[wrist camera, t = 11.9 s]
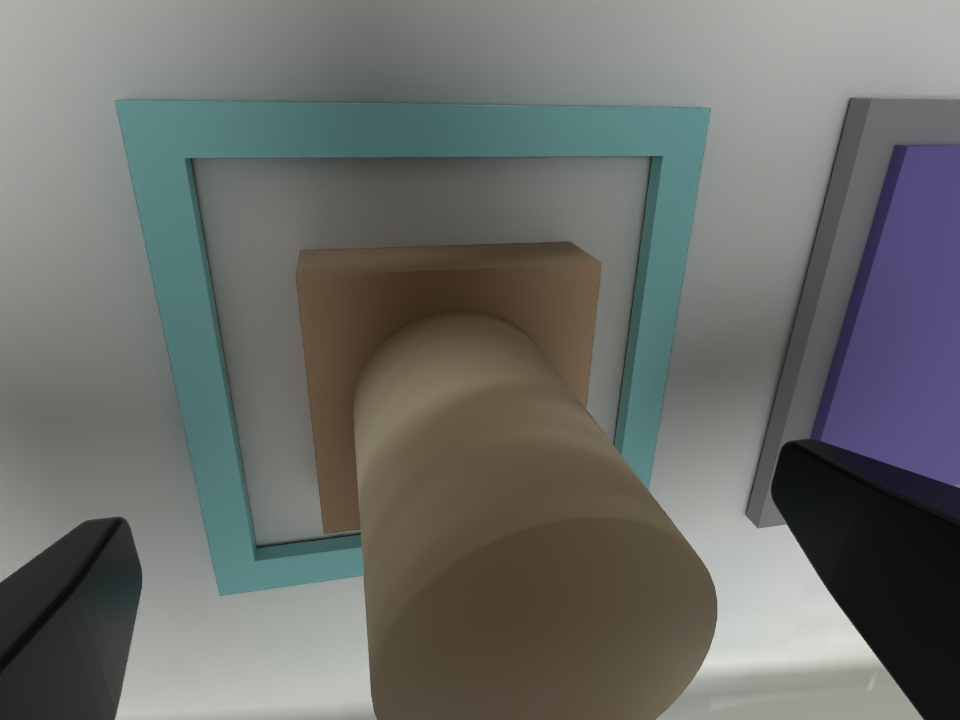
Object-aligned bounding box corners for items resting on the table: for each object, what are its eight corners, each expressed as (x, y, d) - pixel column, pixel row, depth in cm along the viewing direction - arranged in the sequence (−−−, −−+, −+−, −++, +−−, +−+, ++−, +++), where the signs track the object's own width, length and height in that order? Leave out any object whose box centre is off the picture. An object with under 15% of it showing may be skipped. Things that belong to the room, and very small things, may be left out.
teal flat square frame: (699, 107, 11) (711, 108, 11) (633, 525, 15) (640, 536, 15) (123, 99, 9) (114, 100, 9) (222, 581, 13) (220, 595, 13)
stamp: (569, 240, 12) (832, 424, 6) (550, 459, 14) (728, 767, 8) (300, 249, 11) (259, 485, 5) (324, 483, 13) (319, 862, 7)
